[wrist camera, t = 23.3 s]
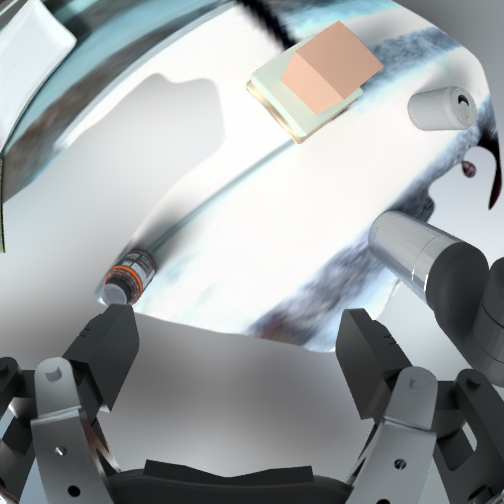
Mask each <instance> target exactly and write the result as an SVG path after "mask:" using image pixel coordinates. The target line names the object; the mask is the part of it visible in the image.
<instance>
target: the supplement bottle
mask: <svg viewBox="0 0 504 504" xmlns="http://www.w3.org/2000/svg"><path fill="white" fill-rule="evenodd" d="M155 270H156V268H155V263H154V261H153V259H152V258H151V256H150V255H149V254H147V253H146V252H144V251H141V250H134V251H131V252H129V253H128V254H127V255H125V256H124V257H123V258H122V259H121V260H120V261H119V262H118V263H117V264H116V265H115V266H114V267H112V268H111V269H110V270H109V272H108V273H107V274H106V275H105V277H104V281H103V288H102V290H101V297H102V299H103V301H104V303H105V304H106V305H107V306H108V307H109V305H110V304H111V303H122V304H130V305H133V304H134V303H136V302H137V301H138V299H139V298H140V297H141V295H142V293H143V292H144V290H145V289H146V287H147V286H148V285H149V283H150V282H151V280H152V279H153V277H154V275H155Z"/></svg>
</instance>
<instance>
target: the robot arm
mask: <svg viewBox="0 0 504 504" xmlns="http://www.w3.org/2000/svg"><path fill="white" fill-rule="evenodd" d="M369 247H370V250H371V252H372V254H373V255H374V256H375V257H376V258H377V259H378V260H379V261H380V262H381V263H382V264H383V265H385V266H386V267H387V268H388V269H389V270H390V271H391V272H392V273H393V274H395V275H396V276H397V277H398V278H399V279H400V280H401V281H402V282H403V283H404V284H405V285H407V286H408V287H409V288H410V289H411V290H412V291H413V292H414V293H415V294H416V295H417V296H418V297H419V298H420V299H422V300H423V301H424V302H425V303H426V304H427V305H428V306H429V307H430V308H431V309H432V310H433V311H434V314H435V318H436V321H437V323H438V325H439V326H440V328H441V329H442V330H443V331H444V333H445V334H446V335H447V336H448V338H449V339H450V340H451V341H452V342H453V344H454V345H455V346H456V348H457V349H458V350H459V352H460V353H461V354H462V356H463V357H464V358H465V360H466V361H467V362H468V363H469V365H470V366H471V367H472V368H473V369H464V370H462V371H460V372H459V374H458V376H457V378H456V379H455V381H437V379H436V377H435V376H434V375H433V374H432V373H431V372H430V371H428V370H427V369H425V368H422V367H416V366H413V365H412V364H411V362H410V361H409V359H408V358H407V357H406V355H405V354H404V352H403V351H402V349H401V348H400V346H399V345H398V344H396V341H395V339H394V338H393V337H392V335H391V334H390V332H389V331H388V329H387V328H386V327H385V326H384V325H382V324H381V323H379V322H378V321H376V320H372V319H371V317H370V316H369V314H368V313H367V312H366V310H365V309H364V308H359V309H345V310H344V311H343V313H342V318H341V322H340V327H339V331H338V336H337V340H336V356H337V359H338V361H339V364H340V366H341V369H342V371H343V374H344V376H345V379H346V381H347V384H348V386H349V389H350V392H351V394H352V397H353V399H354V402H355V404H356V407H357V410H358V412H359V415H360V417H361V420H363V419H368V418H373V419H374V422H375V423H374V425H373V426H372V428H371V431H370V433H369V435H368V437H367V439H366V442H365V443H364V445H363V447H362V450H361V452H360V454H359V455H358V458H357V459H356V462H355V463H354V465H353V467H352V468H351V470H350V472H349V473H348V475H347V476H346V478H345V479H344V481H343V482H341V481H339V480H336V479H332V478H329V477H324V476H318V475H313V472H312V467H311V466H303V467H293V468H279V469H268V470H264V471H260V472H255V473H251V474H246V475H241V476H235V477H222V476H217V475H214V474H211V473H207V472H204V471H201V470H197V469H194V468H191V467H188V466H185V465H177V464H170V463H164V462H158V461H153V460H146V463H145V467H144V469H134V470H128V471H123V472H122V471H121V469H120V467H119V466H118V464H117V463H116V461H115V459H114V457H113V455H112V453H111V450H110V448H109V445H108V443H107V441H106V438H105V436H104V433H103V431H102V428H101V426H100V423H99V420H98V418H97V416H96V415H97V412H98V411H99V410H102V411H106V412H111V410H112V408H113V405H114V403H115V401H116V399H117V396H118V394H119V392H120V389H121V387H122V385H123V383H124V381H125V378H126V376H127V374H128V372H129V370H130V368H131V365H132V363H133V361H134V359H135V357H136V355H137V352H138V349H139V335H138V331H137V326H136V322H135V317H134V312H133V308H132V306H131V305H130V304H122V303H111V304H110V305H109V307H108V308H107V309H106V311H105V312H104V313H103V314H99V315H98V316H96V317H95V318H93V319H91V320H90V321H89V323H88V324H87V325H86V326H85V328H84V330H82V331H81V333H80V334H79V336H78V337H77V338H76V339H75V340H74V342H73V343H72V344H71V346H70V347H69V348H68V350H67V351H66V352H65V353H64V355H63V356H62V358H58V357H57V358H50V359H47V360H45V361H43V362H42V363H41V364H39V366H38V367H37V368H36V370H21V369H20V367H19V365H18V363H17V361H16V360H15V359H14V358H11V357H3V358H0V420H1V418H2V416H3V415H4V413H5V411H6V410H7V408H9V409H10V411H11V412H12V413H13V415H14V417H13V419H12V421H11V423H10V425H9V426H8V428H7V430H6V432H5V434H4V436H3V438H2V440H1V439H0V504H19V501H20V497H21V495H22V491H23V489H24V486H25V483H26V480H27V478H28V475H29V472H30V469H31V467H32V464H33V462H34V459H35V457H36V460H37V464H38V469H39V472H40V477H41V480H42V484H43V488H44V491H45V494H46V498H47V501H48V504H417V503H418V501H419V498H420V495H421V492H422V489H423V486H424V483H425V480H426V477H427V473H428V470H429V466H430V462H431V459H432V456H433V458H434V461H435V463H436V466H437V468H438V471H439V474H440V476H441V479H442V482H443V485H444V487H445V490H446V493H447V496H448V499H449V502H450V504H504V401H503V400H502V399H501V397H500V395H499V394H498V393H497V391H496V390H495V388H494V387H493V386H492V384H493V385H495V386H498V387H503V388H504V257H503V258H500V259H498V260H496V261H495V262H494V263H493V265H492V266H491V268H490V270H489V266H488V262H487V259H486V257H485V256H484V254H483V253H482V252H481V251H480V250H479V249H478V248H476V247H474V246H472V245H471V244H468V243H467V242H465V241H462V240H461V239H459V238H457V237H455V236H453V235H451V234H449V233H447V232H445V231H443V230H440V229H438V228H436V227H434V226H432V225H430V224H428V223H426V222H423V221H421V220H419V219H417V218H415V217H413V216H410V215H408V214H406V213H403V212H401V211H398V210H391V211H387V212H385V213H383V214H382V215H380V216H379V217H378V218H377V219H376V220H375V222H374V223H373V225H372V227H371V230H370V234H369ZM466 422H467V423H468V424H469V426H470V428H471V430H472V432H473V434H474V435H475V437H476V440H477V447H476V450H475V452H474V451H473V449H472V447H471V445H470V443H469V441H468V439H467V437H466V435H465V433H464V431H463V429H462V427H463V426H464V425H465V423H466Z"/></svg>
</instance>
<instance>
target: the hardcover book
mask: <svg viewBox="0 0 504 504" xmlns="http://www.w3.org/2000/svg"><path fill="white" fill-rule="evenodd" d="M1 172H2V159H0V253H1V252H3V253H5V241H4V225H3V205H1Z"/></svg>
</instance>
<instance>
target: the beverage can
mask: <svg viewBox="0 0 504 504" xmlns="http://www.w3.org/2000/svg"><path fill="white" fill-rule="evenodd" d="M408 114H409V117H410V120H411V121H412V123H413V124H414V125H415V126H416V127H417V128H418V129H420V130H423V131H434V130H466V129H468V128H469V127H472V126H473V125H474V124H475V122H476V119H477V109H476V105H475V102H474V100H473V98H472V97H471V95H470V94H469V93H468V92H467V91H466V90H464V89H462V88H458V87H454V86H452V87H447V88H443V89H438V90H434V91H430V92H426V93H422V94H418V95H414V96H413V97H411V99H410V100H409V102H408Z"/></svg>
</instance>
